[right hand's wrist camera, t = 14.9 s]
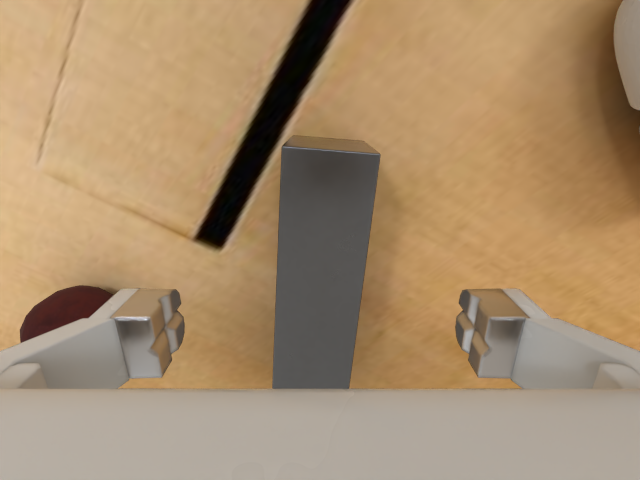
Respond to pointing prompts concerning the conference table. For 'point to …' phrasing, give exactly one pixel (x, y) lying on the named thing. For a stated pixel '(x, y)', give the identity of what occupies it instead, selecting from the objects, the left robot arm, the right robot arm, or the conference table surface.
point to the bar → (321, 259)
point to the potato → (62, 310)
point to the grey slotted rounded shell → (629, 49)
